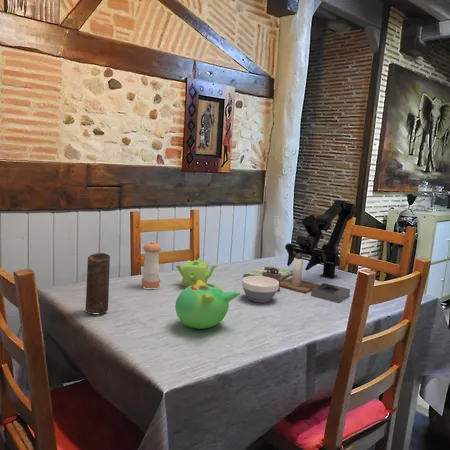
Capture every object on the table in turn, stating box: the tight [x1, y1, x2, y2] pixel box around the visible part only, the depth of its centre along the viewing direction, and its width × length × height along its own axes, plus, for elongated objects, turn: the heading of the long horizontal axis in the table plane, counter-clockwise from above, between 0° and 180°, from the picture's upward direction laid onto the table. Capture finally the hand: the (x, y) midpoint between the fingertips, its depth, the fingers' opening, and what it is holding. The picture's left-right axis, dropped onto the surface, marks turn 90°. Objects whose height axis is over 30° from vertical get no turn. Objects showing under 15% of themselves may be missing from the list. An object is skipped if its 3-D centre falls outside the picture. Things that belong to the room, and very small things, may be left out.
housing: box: [310, 282, 351, 304], centre depth 183 cm, size 12×12×3 cm
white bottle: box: [291, 253, 304, 287], centre depth 191 cm, size 4×4×14 cm
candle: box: [85, 252, 111, 314], centre depth 147 cm, size 8×7×20 cm
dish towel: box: [242, 265, 293, 282], centre depth 208 cm, size 17×23×4 cm
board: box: [280, 277, 320, 294], centre depth 194 cm, size 14×14×1 cm
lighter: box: [262, 266, 281, 293], centre depth 185 cm, size 8×3×10 cm, turn 84°
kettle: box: [175, 257, 219, 289], centre depth 184 cm, size 15×14×11 cm
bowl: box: [241, 276, 279, 304], centre depth 172 cm, size 14×14×8 cm
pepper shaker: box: [141, 240, 162, 288], centre depth 178 cm, size 7×7×19 cm
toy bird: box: [174, 280, 241, 330], centre depth 141 cm, size 18×17×15 cm
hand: (296, 267), depth 190 cm, fingers open, 9 cm apart
